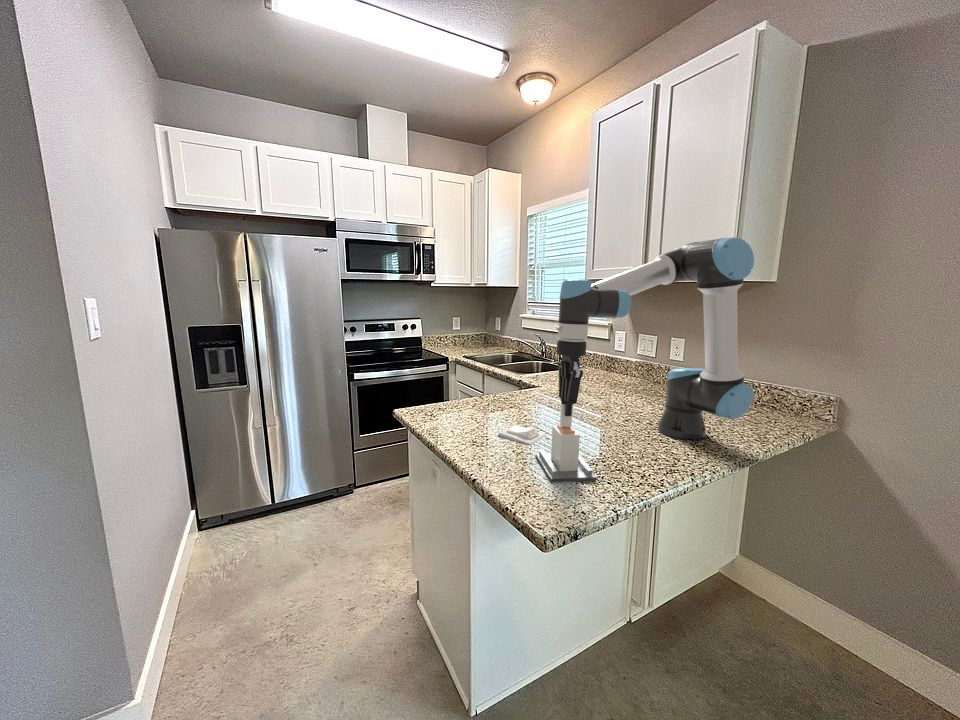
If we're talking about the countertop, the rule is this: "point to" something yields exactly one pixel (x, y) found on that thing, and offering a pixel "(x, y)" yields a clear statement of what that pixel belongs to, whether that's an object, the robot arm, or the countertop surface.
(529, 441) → the light switch
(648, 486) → the countertop surface
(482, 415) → the countertop surface
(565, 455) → the block
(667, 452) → the countertop surface
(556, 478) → the rail
